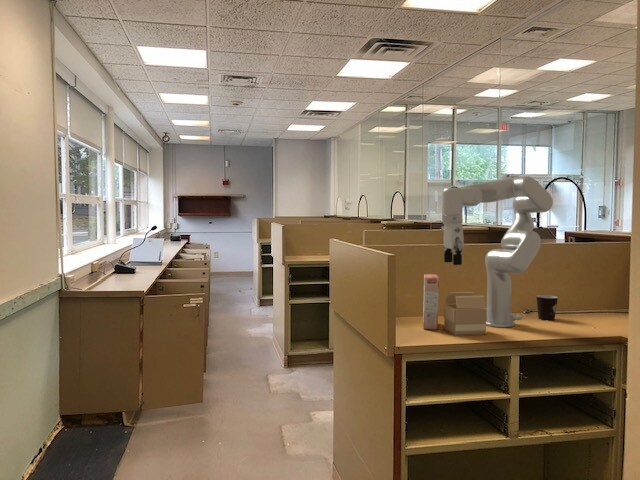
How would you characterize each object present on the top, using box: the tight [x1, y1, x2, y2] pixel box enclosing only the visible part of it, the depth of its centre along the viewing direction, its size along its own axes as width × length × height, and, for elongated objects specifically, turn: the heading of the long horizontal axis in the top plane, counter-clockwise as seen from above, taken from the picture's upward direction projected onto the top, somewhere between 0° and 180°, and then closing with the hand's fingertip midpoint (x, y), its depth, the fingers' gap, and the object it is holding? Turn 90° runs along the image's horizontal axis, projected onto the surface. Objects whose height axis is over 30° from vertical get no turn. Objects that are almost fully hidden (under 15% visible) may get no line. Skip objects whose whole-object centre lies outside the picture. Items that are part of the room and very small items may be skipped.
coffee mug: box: [536, 294, 559, 322], centre depth 216 cm, size 12×9×10 cm
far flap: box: [445, 291, 476, 304], centre depth 195 cm, size 11×5×1 cm
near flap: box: [456, 294, 487, 309], centre depth 186 cm, size 11×5×1 cm
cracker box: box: [422, 273, 440, 331], centre depth 201 cm, size 14×6×21 cm, turn 168°
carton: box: [443, 303, 487, 337], centre depth 191 cm, size 13×11×10 cm
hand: (452, 263), depth 191 cm, fingers open, 9 cm apart
